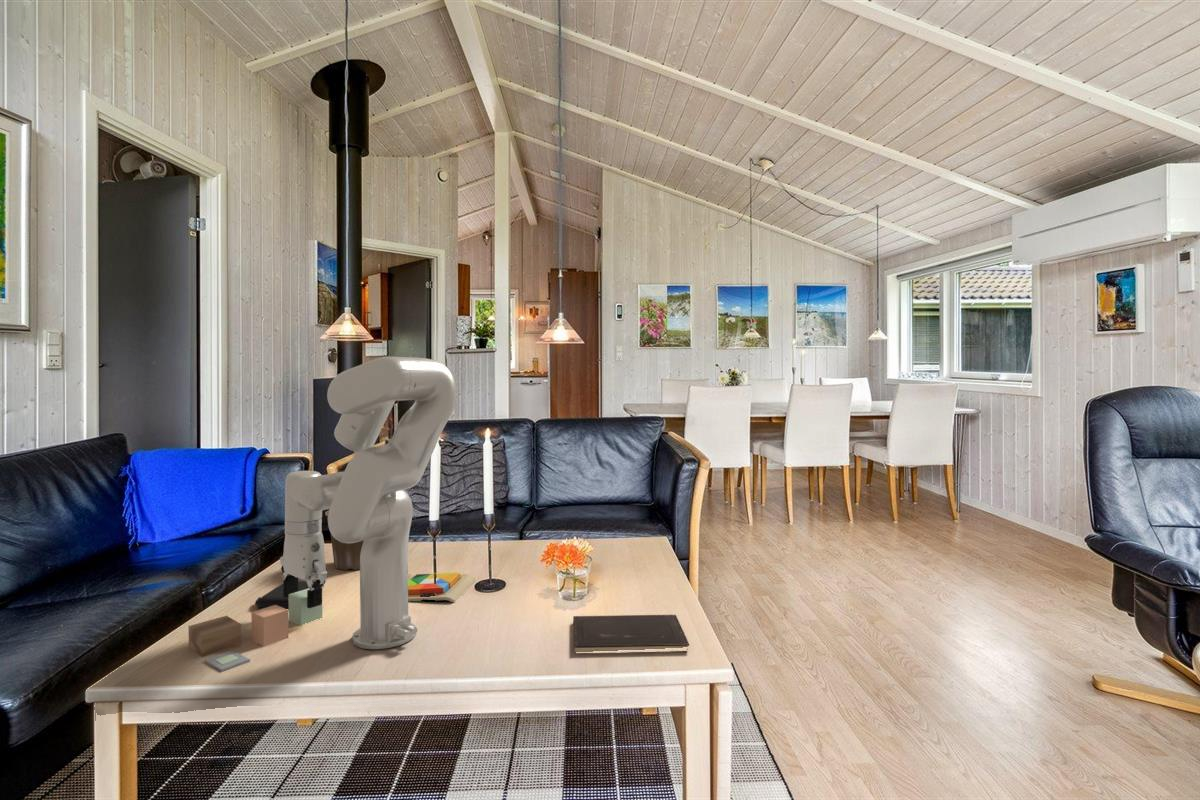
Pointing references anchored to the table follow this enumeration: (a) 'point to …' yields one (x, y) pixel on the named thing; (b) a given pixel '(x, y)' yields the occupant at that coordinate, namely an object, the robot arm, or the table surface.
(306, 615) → the sage block
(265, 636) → the terracotta block
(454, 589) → the wooden puzzle
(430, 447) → the robot arm
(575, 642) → the hardcover book
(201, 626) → the walnut base
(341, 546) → the plant pot
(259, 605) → the carrying case or bag
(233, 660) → the card
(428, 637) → the table surface
